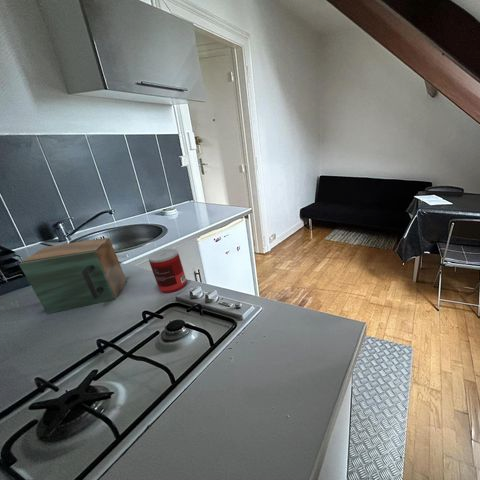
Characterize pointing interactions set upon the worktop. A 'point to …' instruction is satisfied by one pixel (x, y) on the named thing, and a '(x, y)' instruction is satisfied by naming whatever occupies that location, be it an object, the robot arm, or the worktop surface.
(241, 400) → the worktop surface
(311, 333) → the worktop surface
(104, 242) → the cupboard
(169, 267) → the canned food
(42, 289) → the cupboard door
